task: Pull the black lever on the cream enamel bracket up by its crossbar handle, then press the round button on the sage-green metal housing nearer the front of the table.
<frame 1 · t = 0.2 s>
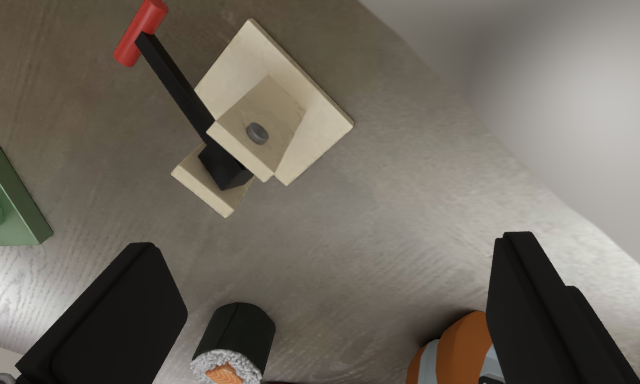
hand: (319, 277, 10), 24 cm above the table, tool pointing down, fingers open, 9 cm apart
alarm clock: (492, 353, 45), on the table
lever: (187, 99, 24), point 9 cm above the table, hinge at -25.0°
sushi: (244, 322, 49), on the table
bracket: (272, 108, 32), on the table
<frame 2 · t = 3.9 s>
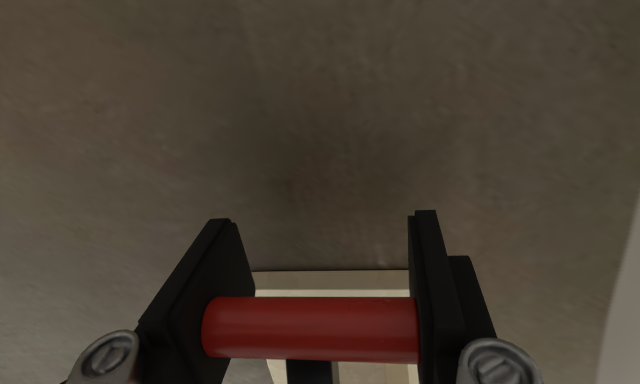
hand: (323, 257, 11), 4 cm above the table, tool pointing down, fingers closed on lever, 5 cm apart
bracket: (357, 355, 19), on the table
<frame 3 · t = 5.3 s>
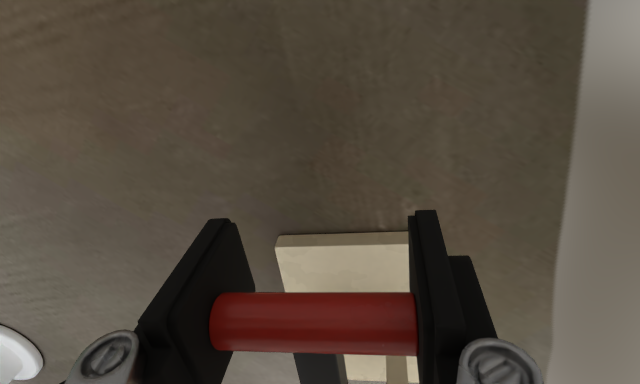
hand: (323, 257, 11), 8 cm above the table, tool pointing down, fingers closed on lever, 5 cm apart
candle: (7, 346, 32), on the table
bracket: (362, 307, 23), on the table
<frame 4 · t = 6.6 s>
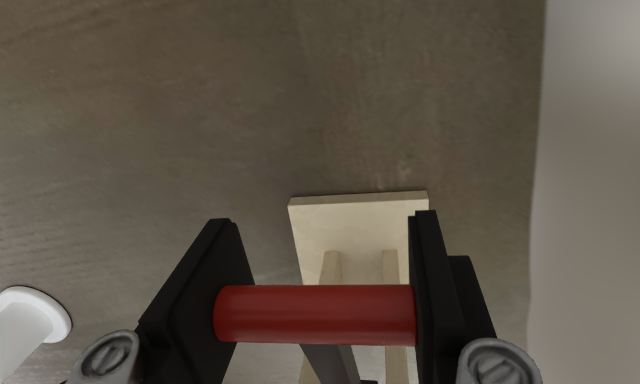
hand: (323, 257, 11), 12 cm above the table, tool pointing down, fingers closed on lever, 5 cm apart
lever: (342, 382, 13), point 13 cm above the table, hinge at 18.0°, touching gripper
candle: (39, 310, 35), on the table
bracket: (363, 264, 27), on the table
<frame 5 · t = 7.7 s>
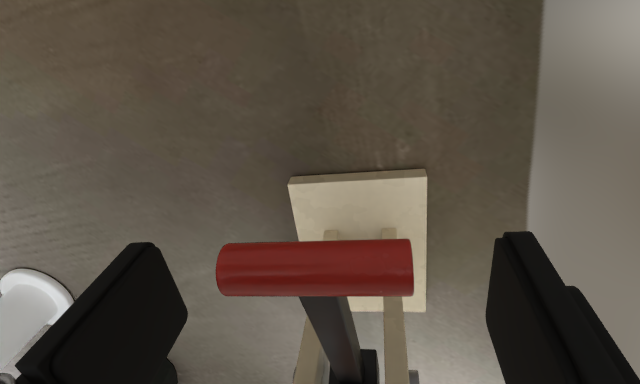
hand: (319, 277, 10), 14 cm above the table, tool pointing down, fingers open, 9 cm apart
lever: (342, 346, 14), point 13 cm above the table, hinge at 17.9°
candle: (42, 293, 35), on the table
sushi: (142, 366, 40), on the table
bracket: (362, 243, 27), on the table
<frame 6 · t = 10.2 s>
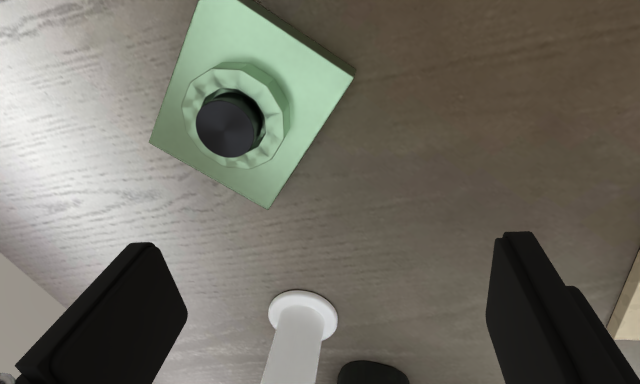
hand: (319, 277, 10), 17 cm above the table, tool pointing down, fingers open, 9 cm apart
button: (229, 125, 22), point 4 cm above the table, slide at 0.1 cm
candle: (303, 312, 37), on the table
sushi: (371, 381, 41), on the table
button box: (251, 103, 26), on the table
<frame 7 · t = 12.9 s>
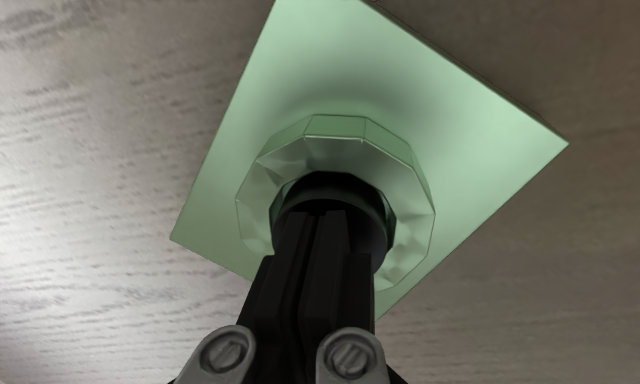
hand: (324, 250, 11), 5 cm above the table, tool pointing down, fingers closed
button: (330, 229, 12), point 4 cm above the table, slide at -0.3 cm, touching gripper
button box: (341, 172, 15), on the table
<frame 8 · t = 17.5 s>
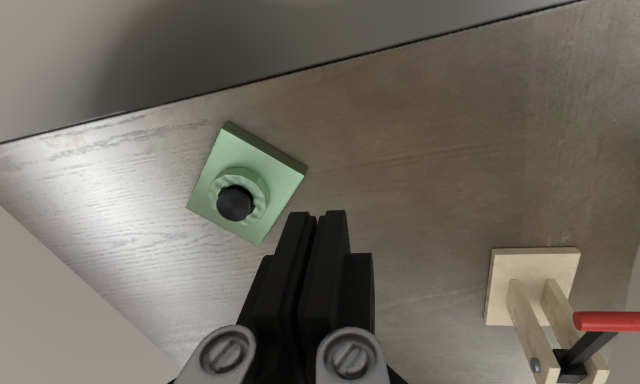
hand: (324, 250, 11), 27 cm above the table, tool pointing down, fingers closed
button: (235, 203, 39), point 4 cm above the table, slide at 0.1 cm
lever: (585, 348, 31), point 13 cm above the table, hinge at 17.9°
bracket: (525, 285, 45), on the table
button box: (247, 183, 42), on the table
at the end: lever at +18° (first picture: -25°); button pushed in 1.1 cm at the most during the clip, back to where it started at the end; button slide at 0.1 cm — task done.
